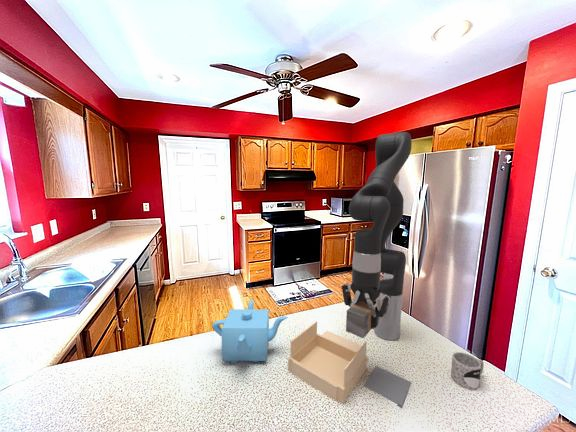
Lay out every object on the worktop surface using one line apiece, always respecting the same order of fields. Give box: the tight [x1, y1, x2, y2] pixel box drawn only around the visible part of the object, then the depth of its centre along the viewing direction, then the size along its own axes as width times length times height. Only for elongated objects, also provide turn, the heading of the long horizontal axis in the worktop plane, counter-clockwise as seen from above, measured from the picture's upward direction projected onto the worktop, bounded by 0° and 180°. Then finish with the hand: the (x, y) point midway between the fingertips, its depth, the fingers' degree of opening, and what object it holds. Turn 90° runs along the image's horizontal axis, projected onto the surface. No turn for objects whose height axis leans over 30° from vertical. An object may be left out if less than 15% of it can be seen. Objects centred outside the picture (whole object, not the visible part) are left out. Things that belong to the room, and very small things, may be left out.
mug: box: [450, 351, 485, 391], centre depth 71 cm, size 10×7×7 cm
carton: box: [287, 321, 368, 405], centre depth 74 cm, size 20×18×10 cm
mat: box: [363, 365, 412, 409], centre depth 68 cm, size 10×10×1 cm
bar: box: [345, 299, 381, 339], centre depth 69 cm, size 12×5×6 cm, turn 140°
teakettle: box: [212, 299, 288, 365], centre depth 80 cm, size 19×19×15 cm
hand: (363, 323), depth 69 cm, fingers closed on bar, 5 cm apart
